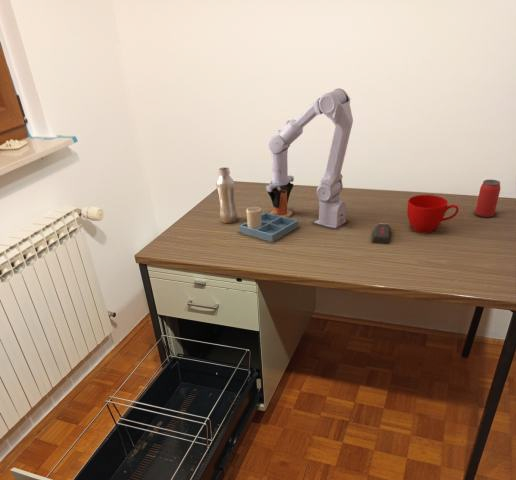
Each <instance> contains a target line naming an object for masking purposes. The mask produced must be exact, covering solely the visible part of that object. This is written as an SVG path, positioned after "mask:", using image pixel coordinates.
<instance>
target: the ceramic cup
mask: <svg viewBox="0 0 516 480" xmlns="http://www.w3.org/2000/svg"><path fill="white" fill-rule="evenodd" d="M451 208H452V209H453V208H455V209H456V210H455V212H454V213H453V214H452V215H449V216H446V213H447V212H448V210H450V209H451ZM459 210H460V209H459V207H458V205H456V204H450V205H449V204H448V200H447V199H446V198H444V197H442V196H439V195H432V194H419V195H414V196H410V197H409V199H408V200H407V211H406V212H407V219H408V222H409V224H410V225H411V227H412V228H413V230H414V231H416V232H418V233H423V234H424V233H426V234H427V233H431V232H433V231H435V229H436V228H437V227H439V225H441V223H442V222H444V221H448V220H451V219H454V218H455V217H456V216H457V214H458V213H459ZM445 216H446V217H445Z"/></svg>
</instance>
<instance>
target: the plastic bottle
mask: <svg viewBox="0 0 516 480" xmlns="http://www.w3.org/2000/svg"><path fill="white" fill-rule="evenodd" d="M218 172H219V173H218V176H219V177H218V178H217V180H216V190H217V193H218V198H219V219H220V221H221V222H222V223H224V224H234V223H235V222H236V221H237V220H238V212H237V209H236V204H235V182H234V179H233V178H232V177H231V176H230V174H231V172H230V168H229V167H220V168H219V169H218Z"/></svg>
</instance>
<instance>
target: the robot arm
mask: <svg viewBox="0 0 516 480" xmlns="http://www.w3.org/2000/svg"><path fill="white" fill-rule="evenodd" d="M318 115H324V116H325V117H327V118H328V119H329V120H330V121H331V122H332V123H333V124H334V126H335V127H334V132H333V137H332V142H331V145H330V149H329V154H328V159H327V164H326V168H325V172H324V173H323V176H322V177H321V180H320V183H319V185H318V186H317V188H316V190H315V191H316V192H315V194H316V196H317V198H318V219H316V220H315V221H314V222H313V223H314V224H317V225H321V226H325V227H328V228H334V229H337V228H338V227H341V226H342V225H344V224H345V223H347V219H346V218H347V204H346V202H345V201H343V200H341V199H340V193H341V192H342V190H343V187H344V186H343V175H342V170H343V165H344V160H345V157H346V152H347V148H348V144H349V141H350V135H351V132H352V127H353V123H354V119H353V118H354V117H353V114H352V110H351V98H350V96H349V95H348V93H347V92H346V91H345V90H344V89H343V88H335V89H333V90H332V91H329V92H325V93H323V94H322V95H321V96H320V97H319V98H317V99H316V100H315V101H313V103H312V104H310V105H309V107H308V108H307V109H306V110H305V111H303V112H302V114H301V115H300V116H299V117H298V118H297V119H291V120H287V121H286V122H285V126H284V127H282V129H279V130H277V131H276V132H277V134H276V135H274V136H271V137H270V139H269V140H268V145H267V146H268V150H269V151H270V152H271V174H272V175H271V176H272V177H271V179H270V183H269V184H268V185H266V186H265V191H266V192H267V193H268V195H269V197H270V200H271V203H272V207H273V208H274V207H275V208H279V199H280V194H281V192H282V191H279V190H286V191H287V204H288V203H289V199H290V195H291V193H292V190H293V188H294V183H293V182H294V181H295V176H294V175H288V167H289V166H288V165H289V164H288V151H289V150H288V149H289V148H290V147H291V145H292V144H293V143H294V142H295V141H296V140H297V139H298V138H300V136H301V135H302V134H303V131H304V127H305V126H306V125H308V124H309V123H310V122H311V121H312V120H314V119H315V118H316V117H317V116H318ZM278 188H279V189H278Z"/></svg>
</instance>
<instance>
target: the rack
mask: <svg viewBox="0 0 516 480" xmlns="http://www.w3.org/2000/svg"><path fill="white" fill-rule="evenodd" d="M261 220H262V226H261V227H260V228H258V229H252V228H249V227H247V221H245V222H244V223H241V224H240V225H238V229H239V233H240V234H241V233H242V234H245V235H249V236H251V237H255V238H258V239H261V240H265V241H268V242H275V241H277V240H278V239H280V238H282V237H284V236H285V235H287V234H289V233H290V232H292V231H294V230H296V229H297V228H299V220H297V219H294V218H289V217H282V216H278V215H274V214H270V212H263V213H261Z"/></svg>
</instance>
